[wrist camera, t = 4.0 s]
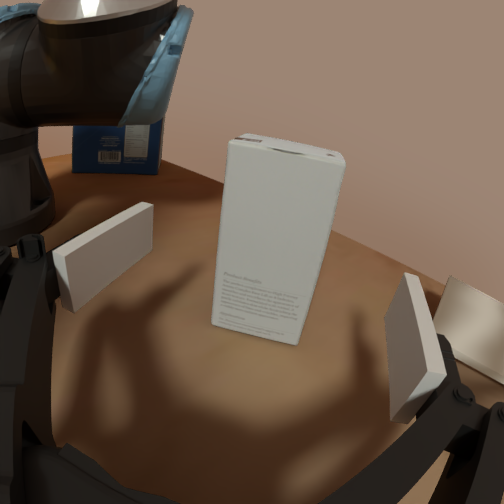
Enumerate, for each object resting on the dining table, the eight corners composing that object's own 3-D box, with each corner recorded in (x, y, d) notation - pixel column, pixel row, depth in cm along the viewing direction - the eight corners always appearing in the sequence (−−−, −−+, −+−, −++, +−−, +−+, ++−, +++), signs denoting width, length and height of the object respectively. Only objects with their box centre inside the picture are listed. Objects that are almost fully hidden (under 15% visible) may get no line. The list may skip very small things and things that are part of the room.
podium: (399, 378, 18) (427, 334, 16) (432, 311, 26) (449, 275, 24) (532, 450, 11) (569, 413, 10) (532, 366, 19) (555, 334, 17)
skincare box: (302, 311, 24) (345, 151, 18) (297, 351, 20) (353, 162, 14) (223, 292, 24) (247, 130, 19) (204, 328, 20) (227, 136, 15)
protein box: (86, 159, 55) (91, 82, 47) (161, 161, 59) (170, 83, 52) (70, 173, 46) (74, 81, 39) (158, 175, 50) (168, 81, 43)
